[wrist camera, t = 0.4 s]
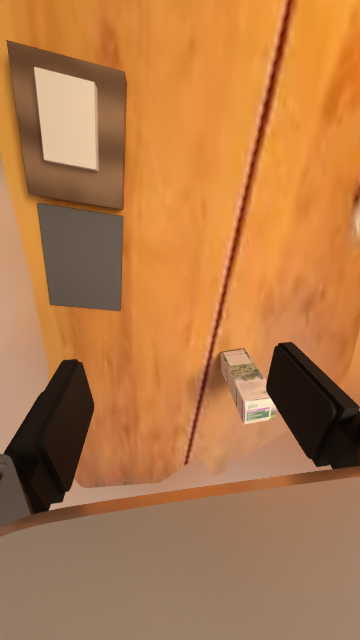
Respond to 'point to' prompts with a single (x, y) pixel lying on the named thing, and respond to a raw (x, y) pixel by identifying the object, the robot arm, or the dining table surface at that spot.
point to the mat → (82, 256)
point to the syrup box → (247, 386)
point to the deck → (111, 129)
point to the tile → (68, 119)
